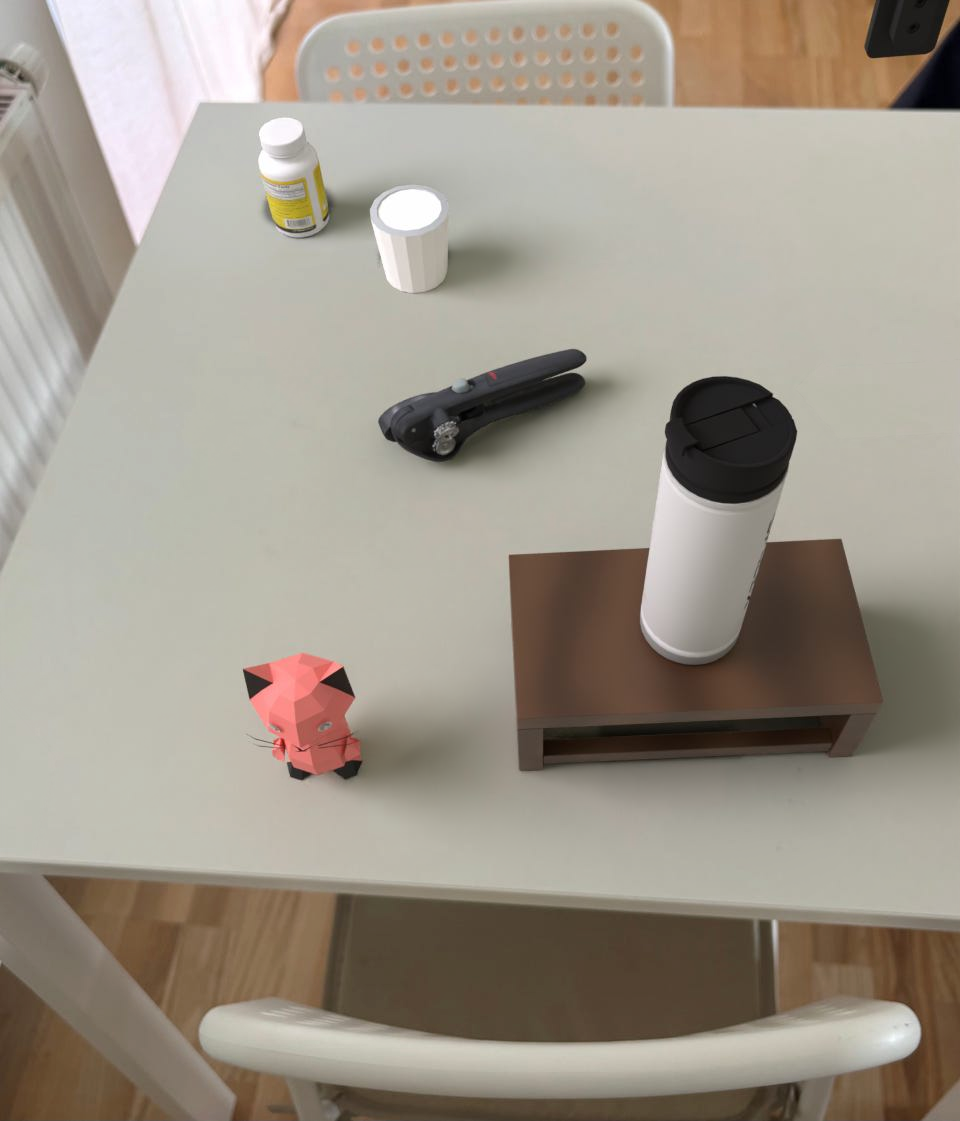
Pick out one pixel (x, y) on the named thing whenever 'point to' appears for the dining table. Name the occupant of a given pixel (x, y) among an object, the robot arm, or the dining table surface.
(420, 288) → the shot glass
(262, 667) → the cat figurine
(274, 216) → the supplement bottle
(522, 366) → the can opener
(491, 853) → the dining table surface
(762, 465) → the travel mug
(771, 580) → the shelf
